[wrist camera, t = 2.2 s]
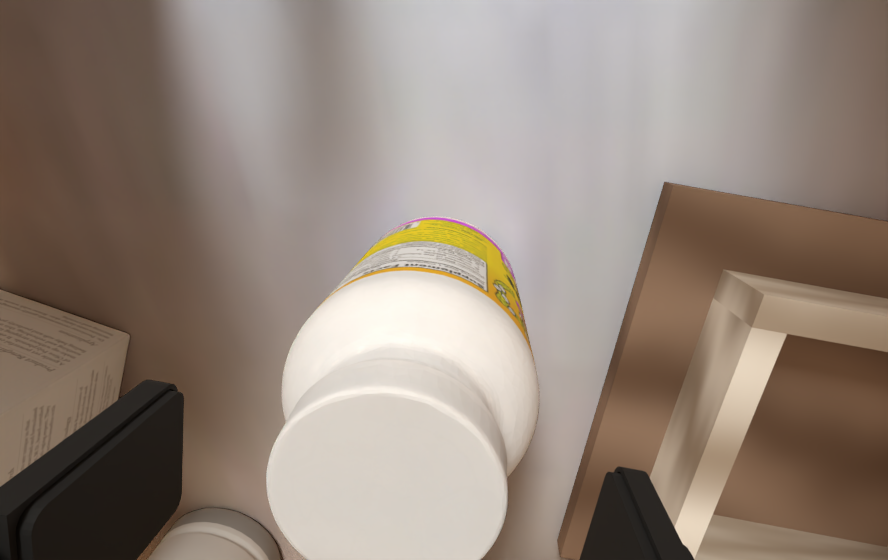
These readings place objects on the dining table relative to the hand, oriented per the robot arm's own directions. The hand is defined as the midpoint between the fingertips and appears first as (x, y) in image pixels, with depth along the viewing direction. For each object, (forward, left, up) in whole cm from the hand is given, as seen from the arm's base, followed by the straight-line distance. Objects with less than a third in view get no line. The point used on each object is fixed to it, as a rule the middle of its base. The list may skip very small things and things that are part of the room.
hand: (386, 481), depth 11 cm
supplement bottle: (-1, 0, -12) cm, 12 cm away
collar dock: (+2, +17, -12) cm, 21 cm away
